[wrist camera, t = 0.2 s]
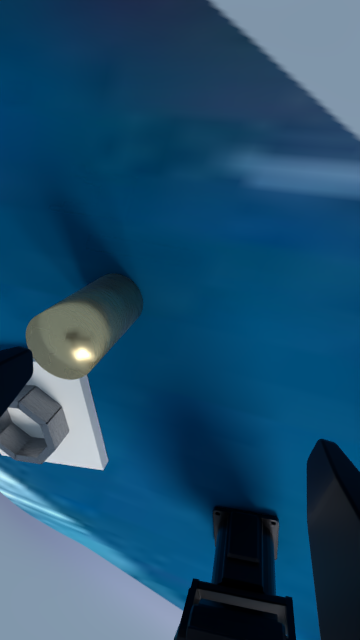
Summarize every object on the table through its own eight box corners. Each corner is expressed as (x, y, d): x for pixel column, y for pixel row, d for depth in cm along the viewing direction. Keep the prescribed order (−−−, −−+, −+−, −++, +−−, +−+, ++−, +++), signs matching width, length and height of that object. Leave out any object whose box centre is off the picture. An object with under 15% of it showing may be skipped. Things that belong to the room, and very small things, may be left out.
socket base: (108, 460, 33) (103, 470, 32) (8, 447, 36) (1, 455, 35) (82, 356, 28) (75, 363, 27) (-31, 351, 31) (-41, 357, 30)
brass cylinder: (146, 324, 25) (101, 381, 18) (98, 324, 26) (37, 377, 19) (138, 272, 23) (85, 312, 16) (87, 274, 24) (16, 312, 17)
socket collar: (74, 447, 32) (61, 467, 29) (13, 439, 33) (-3, 457, 31) (56, 387, 29) (40, 403, 26) (-10, 382, 30) (-30, 397, 28)
